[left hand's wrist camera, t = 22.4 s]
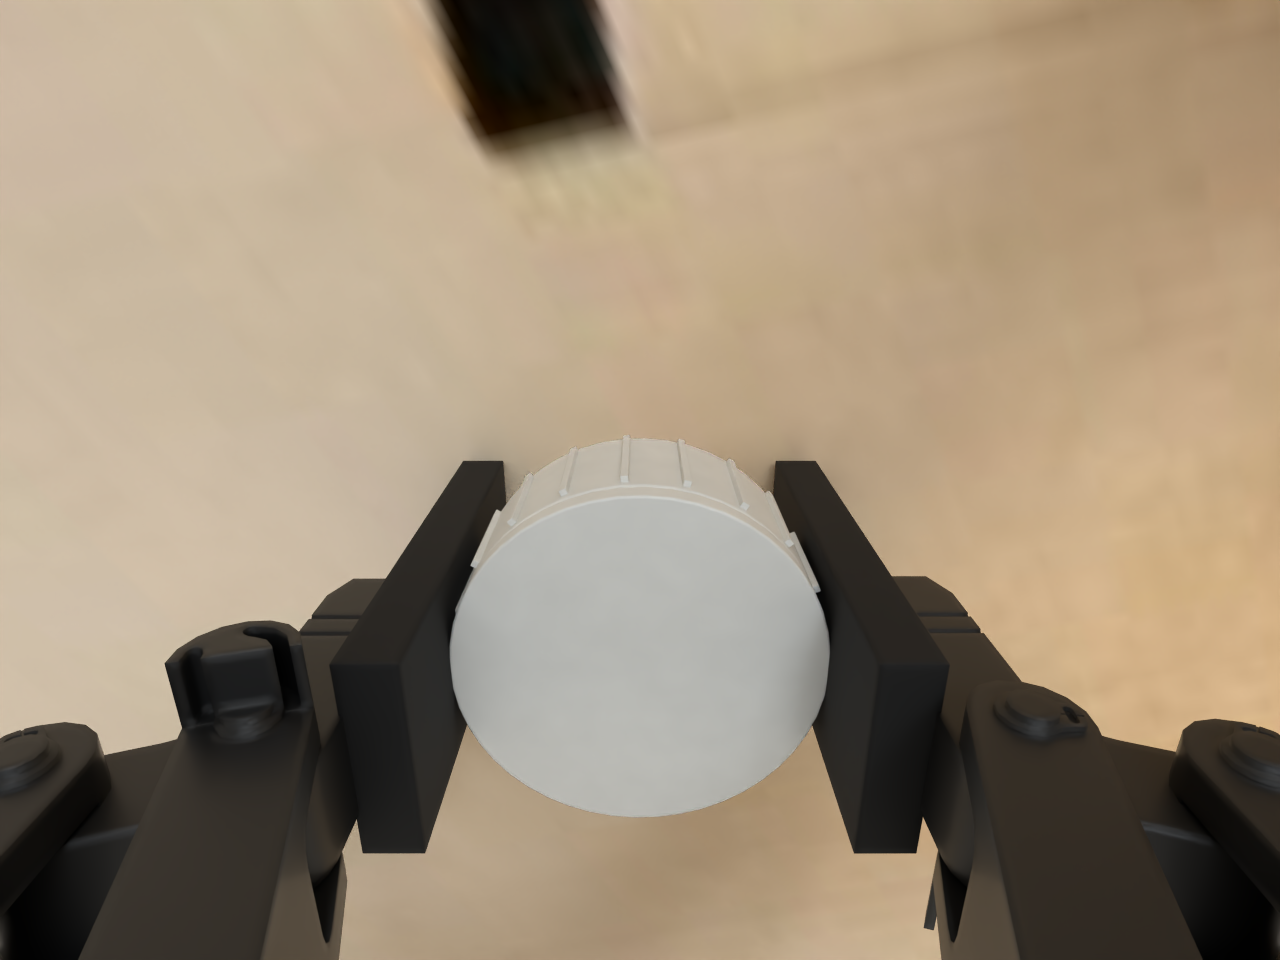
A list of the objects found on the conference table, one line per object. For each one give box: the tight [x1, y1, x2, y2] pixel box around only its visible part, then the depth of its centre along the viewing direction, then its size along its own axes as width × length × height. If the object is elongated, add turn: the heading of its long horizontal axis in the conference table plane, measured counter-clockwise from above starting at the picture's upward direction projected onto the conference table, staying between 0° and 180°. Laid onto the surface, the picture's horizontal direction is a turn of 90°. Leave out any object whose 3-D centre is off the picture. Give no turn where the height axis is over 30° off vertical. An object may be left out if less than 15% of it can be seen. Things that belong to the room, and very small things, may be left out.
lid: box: [449, 435, 830, 817], centre depth 11 cm, size 5×5×2 cm
